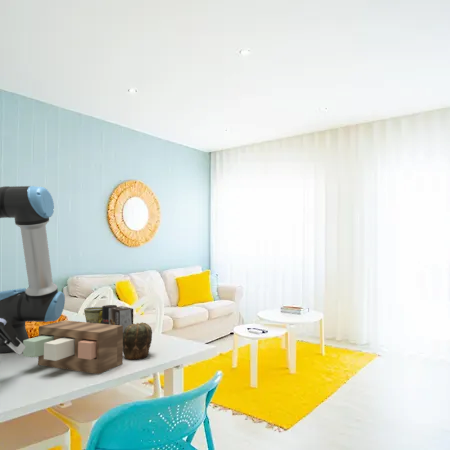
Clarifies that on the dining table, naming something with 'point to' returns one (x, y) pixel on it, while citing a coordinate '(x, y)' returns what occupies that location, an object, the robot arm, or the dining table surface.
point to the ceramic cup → (93, 314)
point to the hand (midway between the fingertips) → (21, 350)
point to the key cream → (59, 348)
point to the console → (103, 333)
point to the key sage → (36, 345)
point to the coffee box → (121, 316)
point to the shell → (137, 341)
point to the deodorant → (106, 313)
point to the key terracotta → (87, 349)
